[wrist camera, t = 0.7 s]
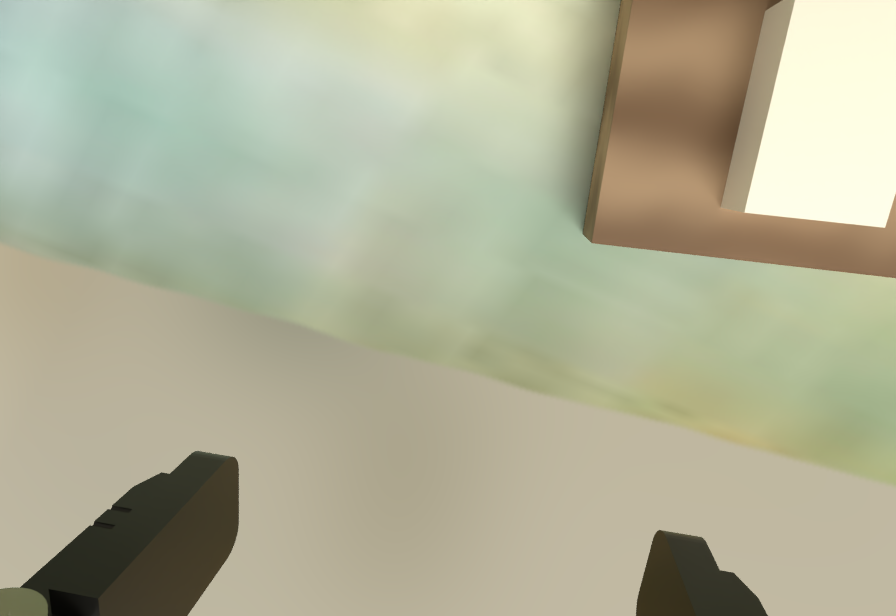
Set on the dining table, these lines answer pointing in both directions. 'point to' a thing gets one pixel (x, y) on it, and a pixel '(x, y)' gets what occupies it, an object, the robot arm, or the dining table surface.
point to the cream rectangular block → (819, 115)
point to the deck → (699, 146)
